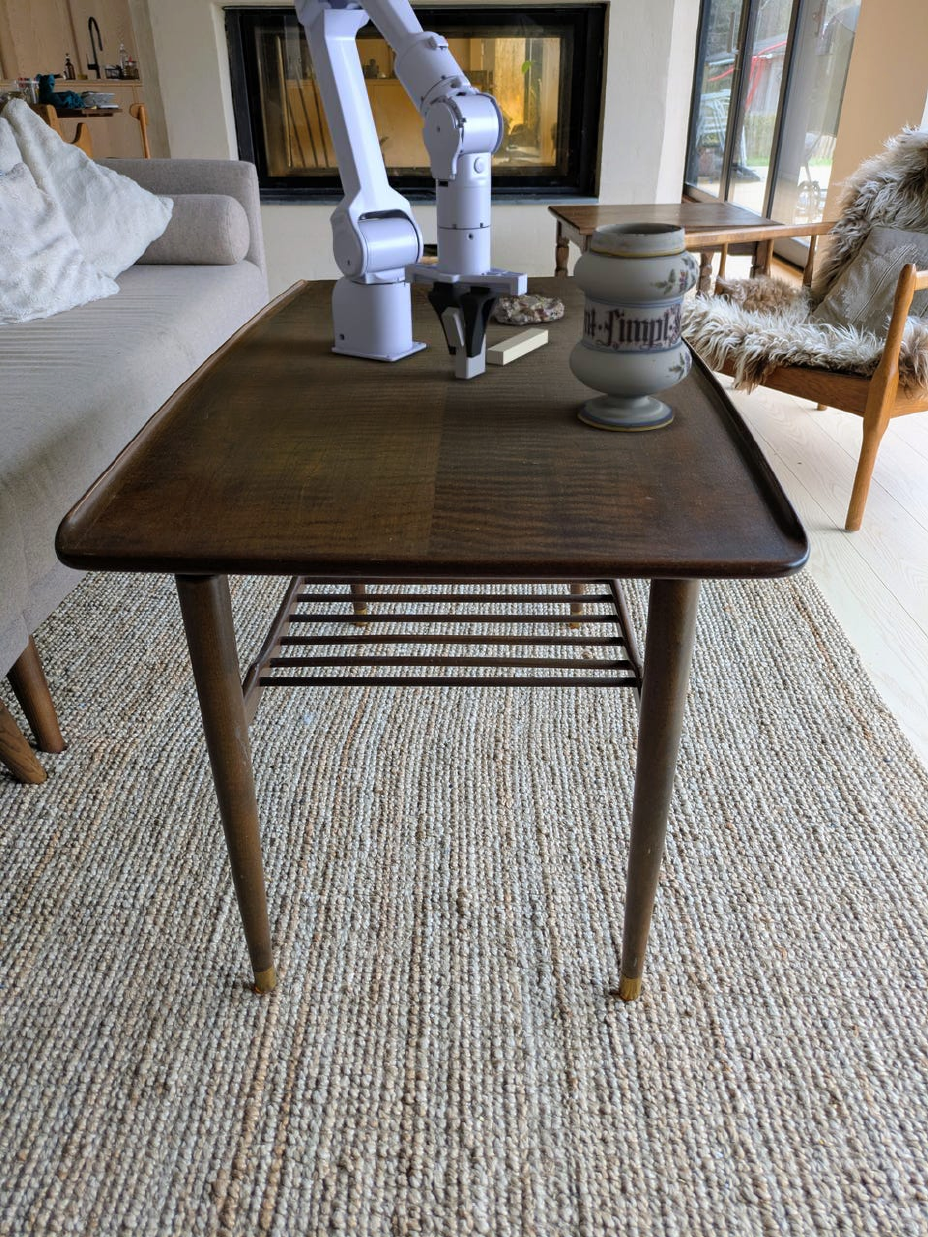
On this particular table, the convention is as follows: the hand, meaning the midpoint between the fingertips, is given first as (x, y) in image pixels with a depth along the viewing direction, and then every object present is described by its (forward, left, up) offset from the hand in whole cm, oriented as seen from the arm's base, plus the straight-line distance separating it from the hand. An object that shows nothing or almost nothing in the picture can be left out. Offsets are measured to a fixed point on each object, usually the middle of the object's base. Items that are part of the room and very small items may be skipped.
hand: (464, 354), depth 103 cm
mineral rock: (-7, +29, -3) cm, 30 cm away
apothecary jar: (+21, -3, -3) cm, 21 cm away
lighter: (0, 0, -3) cm, 3 cm away
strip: (0, +13, -3) cm, 13 cm away
